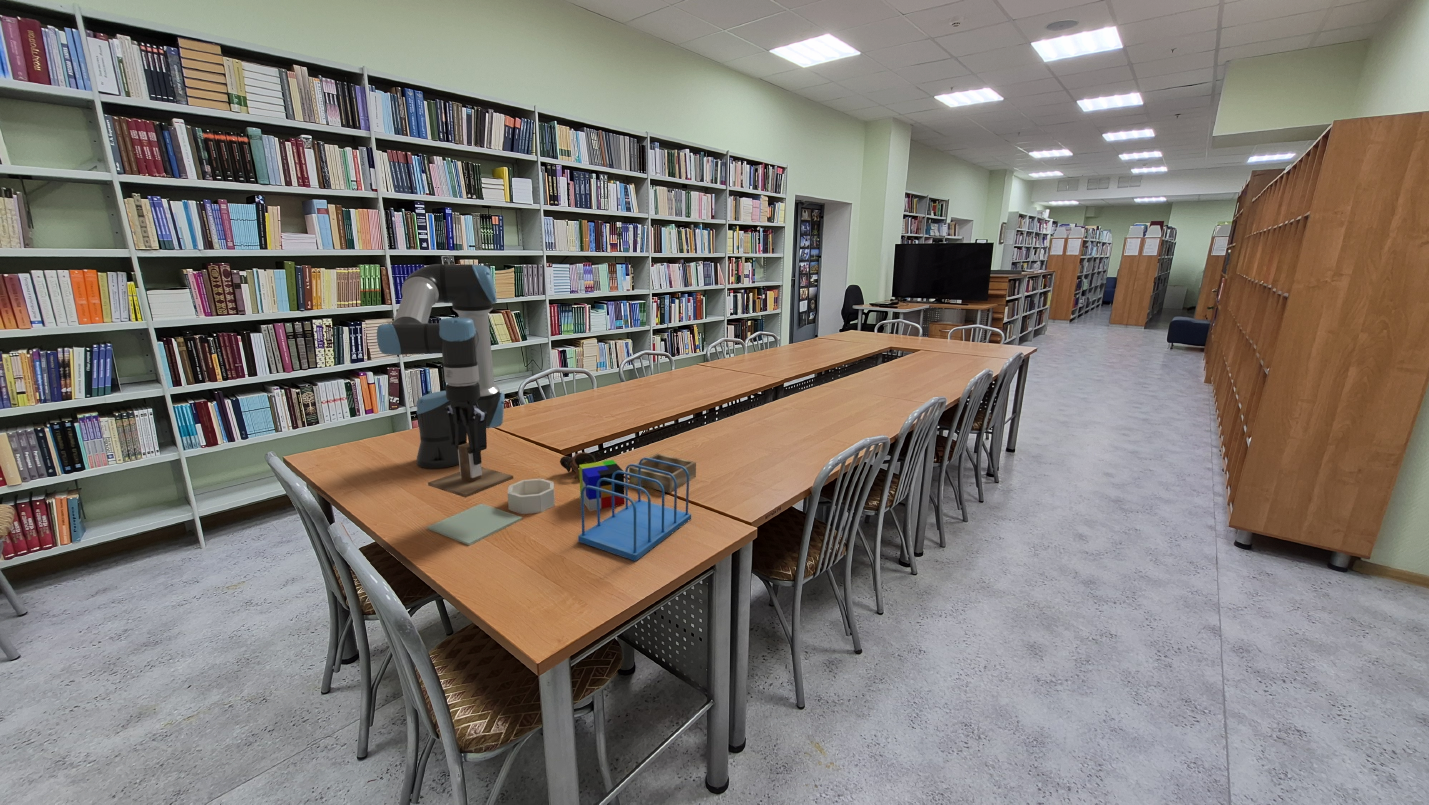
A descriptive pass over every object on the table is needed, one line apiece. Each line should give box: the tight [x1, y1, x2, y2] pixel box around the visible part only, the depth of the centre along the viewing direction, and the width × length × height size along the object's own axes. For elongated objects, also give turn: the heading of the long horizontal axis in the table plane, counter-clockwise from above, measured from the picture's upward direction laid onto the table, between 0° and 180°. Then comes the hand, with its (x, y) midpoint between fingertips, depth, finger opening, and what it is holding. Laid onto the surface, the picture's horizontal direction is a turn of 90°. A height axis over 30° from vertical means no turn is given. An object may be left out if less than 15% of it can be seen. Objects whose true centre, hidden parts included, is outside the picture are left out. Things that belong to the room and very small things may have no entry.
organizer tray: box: [628, 453, 697, 494], centre depth 170 cm, size 15×15×5 cm
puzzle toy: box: [578, 459, 626, 512], centre depth 153 cm, size 10×10×10 cm
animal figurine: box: [559, 451, 597, 481], centre depth 172 cm, size 12×10×8 cm
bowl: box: [507, 478, 556, 515], centre depth 151 cm, size 12×12×5 cm
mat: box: [426, 503, 523, 546], centre depth 139 cm, size 16×16×1 cm
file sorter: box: [577, 457, 692, 562], centre depth 136 cm, size 25×17×15 cm
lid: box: [427, 442, 514, 498], centre depth 135 cm, size 14×14×10 cm
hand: (471, 474), depth 135 cm, fingers closed on lid, 3 cm apart
